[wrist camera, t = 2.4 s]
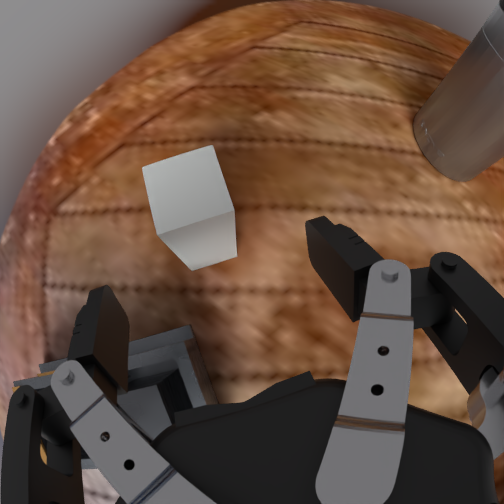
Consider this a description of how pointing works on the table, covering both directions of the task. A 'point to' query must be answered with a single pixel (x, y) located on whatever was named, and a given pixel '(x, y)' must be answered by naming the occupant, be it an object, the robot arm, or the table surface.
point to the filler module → (192, 207)
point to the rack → (151, 382)
